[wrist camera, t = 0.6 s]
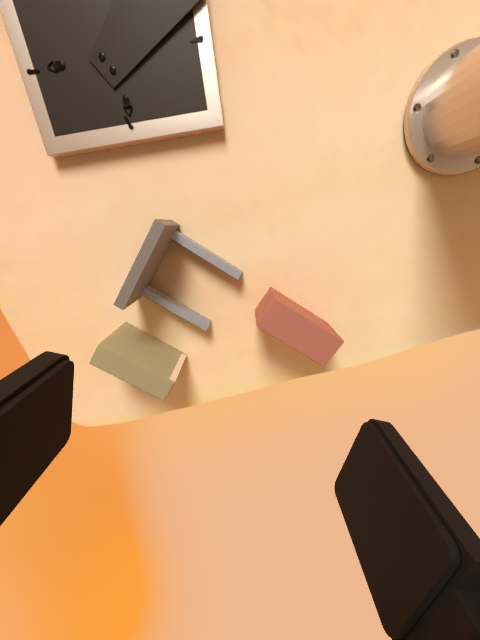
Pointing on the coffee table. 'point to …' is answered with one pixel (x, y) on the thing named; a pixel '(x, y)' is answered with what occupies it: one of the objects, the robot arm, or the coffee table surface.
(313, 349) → the reddish pink rectangular block
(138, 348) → the olive rectangular block
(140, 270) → the shelf slot
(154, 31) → the picture frame
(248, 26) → the coffee table surface
